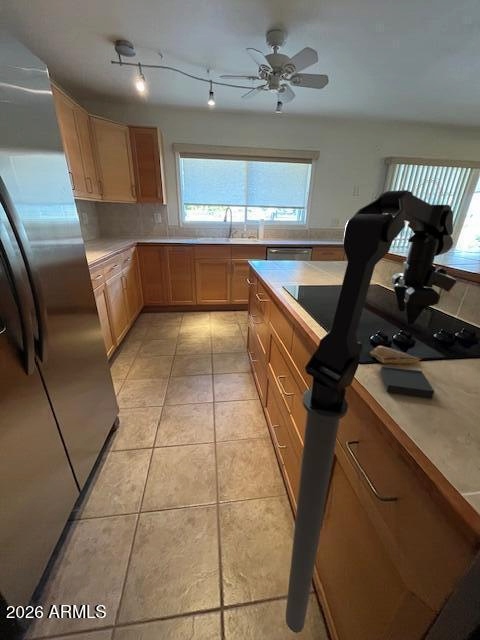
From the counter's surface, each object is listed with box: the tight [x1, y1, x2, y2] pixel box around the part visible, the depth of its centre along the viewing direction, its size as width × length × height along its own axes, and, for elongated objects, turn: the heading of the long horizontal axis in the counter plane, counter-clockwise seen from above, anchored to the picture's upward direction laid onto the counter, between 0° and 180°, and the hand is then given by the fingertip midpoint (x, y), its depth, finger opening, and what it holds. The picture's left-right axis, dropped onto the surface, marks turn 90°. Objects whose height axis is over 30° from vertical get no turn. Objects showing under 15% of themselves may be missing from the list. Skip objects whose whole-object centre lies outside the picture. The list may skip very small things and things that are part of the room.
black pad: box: [379, 365, 435, 400], centre depth 62 cm, size 9×8×2 cm
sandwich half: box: [369, 345, 422, 364], centre depth 71 cm, size 11×8×2 cm
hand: (405, 317), depth 71 cm, fingers open, 9 cm apart
